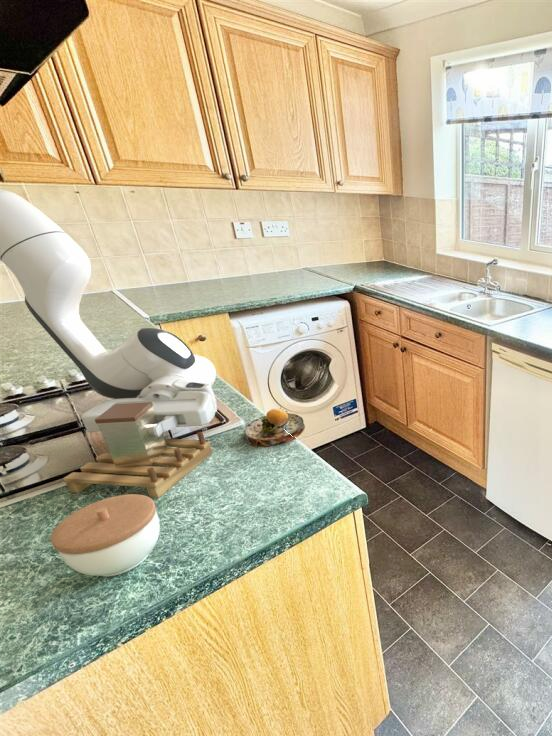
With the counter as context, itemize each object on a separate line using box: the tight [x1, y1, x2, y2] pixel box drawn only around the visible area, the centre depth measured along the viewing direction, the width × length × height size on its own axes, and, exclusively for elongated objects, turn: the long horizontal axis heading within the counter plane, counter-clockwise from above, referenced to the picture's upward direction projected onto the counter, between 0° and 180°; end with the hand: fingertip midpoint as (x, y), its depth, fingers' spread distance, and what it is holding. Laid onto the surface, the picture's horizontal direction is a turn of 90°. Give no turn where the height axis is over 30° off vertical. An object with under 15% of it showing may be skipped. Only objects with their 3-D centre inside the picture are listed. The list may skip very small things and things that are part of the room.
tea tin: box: [95, 402, 167, 467], centre depth 76 cm, size 6×6×10 cm
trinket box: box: [50, 493, 161, 578], centre depth 59 cm, size 11×11×9 cm
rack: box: [63, 431, 213, 499], centre depth 78 cm, size 16×14×6 cm
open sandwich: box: [243, 406, 306, 447], centre depth 92 cm, size 12×12×8 cm
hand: (130, 434), depth 75 cm, fingers closed on tea tin, 5 cm apart
